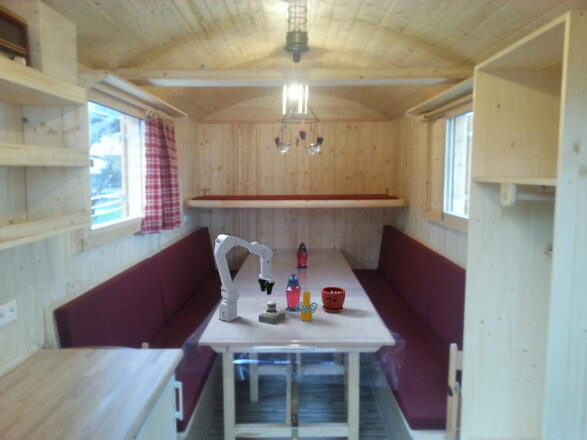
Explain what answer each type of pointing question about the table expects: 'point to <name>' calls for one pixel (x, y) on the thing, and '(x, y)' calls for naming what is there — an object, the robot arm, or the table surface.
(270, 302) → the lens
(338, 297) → the plant pot
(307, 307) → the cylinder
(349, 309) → the table surface
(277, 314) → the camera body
